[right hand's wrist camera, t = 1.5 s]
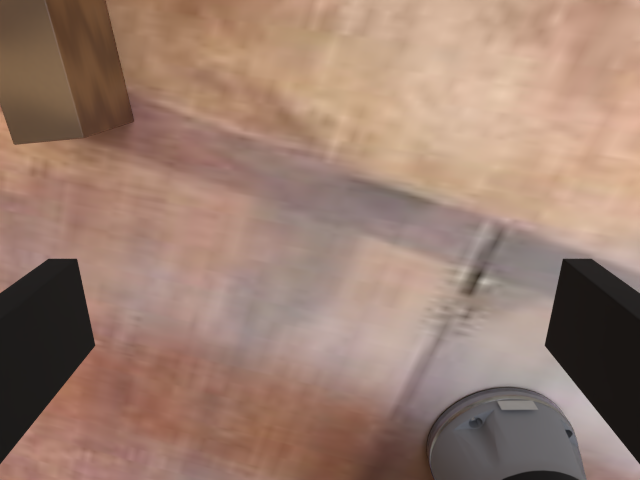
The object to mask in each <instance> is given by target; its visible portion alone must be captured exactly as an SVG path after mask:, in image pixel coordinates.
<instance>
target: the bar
mask: <svg viewBox="0 0 640 480" xmlns="http://www.w3.org/2000/svg"><path fill="white" fill-rule="evenodd" d="M0 105H1V108H2V111H3V114H4V117H5V119H6V122H7V125H8V128H9V131H10V134H11V137H12V140H13V143H14V144H15V145H17V144H27V143H38V142H48V141H58V140H69V139H79V138H85V137H88V136H91V135H95V134H98V133H101V132H104V131H107V130H110V129H113V128H116V127H119V126H122V125H125V124H128V123H131V122H134V119H133V115H132V111H131V107H130V103H129V98H128V94H127V90H126V86H125V82H124V77H123V73H122V69H121V65H120V61H119V56H118V52H117V48H116V44H115V40H114V36H113V31H112V27H111V23H110V19H109V15H108V10H107V6H106V2H105V0H0Z"/></svg>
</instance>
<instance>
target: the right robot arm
mask: <svg viewBox="0 0 640 480" xmlns="http://www.w3.org/2000/svg"><path fill="white" fill-rule="evenodd" d="M94 346H95V342H94V338H93V333H92V328H91V323H90V318H89V314H88V309H87V304H86V299H85V295H84V290H83V285H82V280H81V276H80V271H79V266H78V261H77V259H48V260H46V261H45V262H43V263H42V264H41V265H39V266H38V267H36V268H35V269H34V270H32V271H31V272H29V273H28V274H27V275H25V276H24V277H22V278H21V279H20V280H18V281H17V282H15V283H14V284H13V285H11V286H10V287H8V288H7V289H6V290H4V291H3V292H1V293H0V464H1V462H2V461H3V460H4V459H5V457H6V456H7V455H8V454H9V452H10V451H11V450H12V449H13V447H14V446H15V445H16V444H17V442H18V441H19V440H20V439H21V437H22V436H23V435H24V434H25V432H26V431H27V430H28V429H29V427H30V426H31V425H32V424H33V423H34V421H35V420H36V419H37V418H38V416H39V415H40V414H41V413H42V411H43V410H44V409H45V408H46V406H47V405H48V404H49V403H50V401H51V400H52V399H53V398H54V396H55V395H56V394H57V393H58V391H59V390H60V389H61V388H62V386H63V385H64V384H65V383H66V381H67V380H68V379H69V378H70V376H71V375H72V374H73V373H74V371H75V370H76V369H77V368H78V366H79V365H80V364H81V363H82V361H83V360H84V359H85V358H86V356H87V355H88V354H89V353H90V351H91V350H92V349H93V348H94ZM545 346H546V348H547V349H548V350H549V351H550V353H551V354H552V355H553V356H554V358H555V359H556V360H557V361H558V363H559V364H560V365H561V366H562V368H563V369H564V370H565V371H566V373H567V374H568V375H569V376H570V378H571V379H572V380H573V381H574V383H575V384H576V385H577V386H578V388H579V389H580V390H581V391H582V393H583V394H584V395H585V396H586V398H587V399H588V400H589V401H590V403H591V404H592V405H593V406H594V408H595V409H596V410H597V411H598V413H599V414H600V415H601V416H602V418H603V419H604V420H605V421H606V423H607V424H608V425H609V426H610V427H611V429H612V430H613V431H614V432H615V434H616V435H617V436H618V437H619V439H620V440H621V441H622V442H623V444H624V445H625V446H626V447H627V449H628V450H629V451H630V452H631V454H632V455H633V456H634V457H635V459H636V460H637V461H638V462H639V464H640V293H639V292H637V291H636V290H634V289H633V288H632V287H630V286H629V285H627V284H626V283H625V282H623V281H622V280H620V279H619V278H618V277H616V276H615V275H613V274H612V273H611V272H609V271H608V270H606V269H605V268H604V267H602V266H601V265H599V264H598V263H597V262H595V261H594V260H592V259H563V261H562V266H561V271H560V276H559V280H558V285H557V290H556V295H555V299H554V304H553V309H552V314H551V318H550V323H549V328H548V333H547V337H546V342H545ZM427 457H428V461H429V465H430V469H431V472H432V475H433V478H434V480H586V476H585V471H584V467H583V463H582V459H581V455H580V451H579V448H578V443H577V439H576V436H575V433H574V430H573V428H572V426H571V424H570V423H569V421H568V420H567V418H566V417H565V415H564V414H563V413H562V411H561V410H560V408H559V407H558V406H557V405H556V404H555V403H553V402H552V401H551V400H550V399H548V398H546V397H545V396H543V395H541V394H539V393H536V392H533V391H530V390H525V389H520V388H496V389H490V390H485V391H481V392H478V393H475V394H473V395H470V396H468V397H466V398H464V399H462V400H460V401H458V402H457V403H455V404H454V405H452V406H451V407H450V408H449V409H447V410H446V411H445V412H444V413H443V414H442V415H441V416H440V417H439V419H438V420H437V421H436V423H435V424H434V426H433V428H432V429H431V432H430V434H429V437H428V441H427Z"/></svg>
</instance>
